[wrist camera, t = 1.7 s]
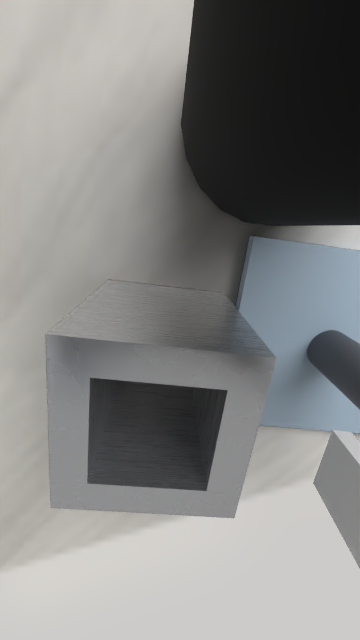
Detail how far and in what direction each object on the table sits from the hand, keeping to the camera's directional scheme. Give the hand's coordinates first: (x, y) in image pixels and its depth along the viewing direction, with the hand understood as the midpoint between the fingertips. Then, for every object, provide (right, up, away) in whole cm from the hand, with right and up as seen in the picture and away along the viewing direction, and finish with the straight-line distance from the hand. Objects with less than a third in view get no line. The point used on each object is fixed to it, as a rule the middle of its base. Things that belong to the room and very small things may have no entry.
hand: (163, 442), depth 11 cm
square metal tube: (-1, +3, +9) cm, 10 cm away
